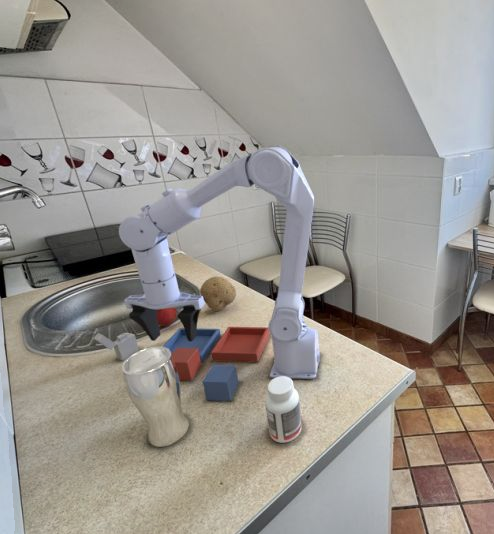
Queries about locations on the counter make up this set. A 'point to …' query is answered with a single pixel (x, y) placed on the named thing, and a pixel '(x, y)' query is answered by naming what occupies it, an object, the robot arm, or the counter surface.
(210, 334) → the blue tray
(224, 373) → the blue block
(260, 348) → the red tray
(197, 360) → the red block
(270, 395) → the pill bottle
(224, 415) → the counter surface
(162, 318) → the onion
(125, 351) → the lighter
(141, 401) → the beer glass
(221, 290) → the potato
